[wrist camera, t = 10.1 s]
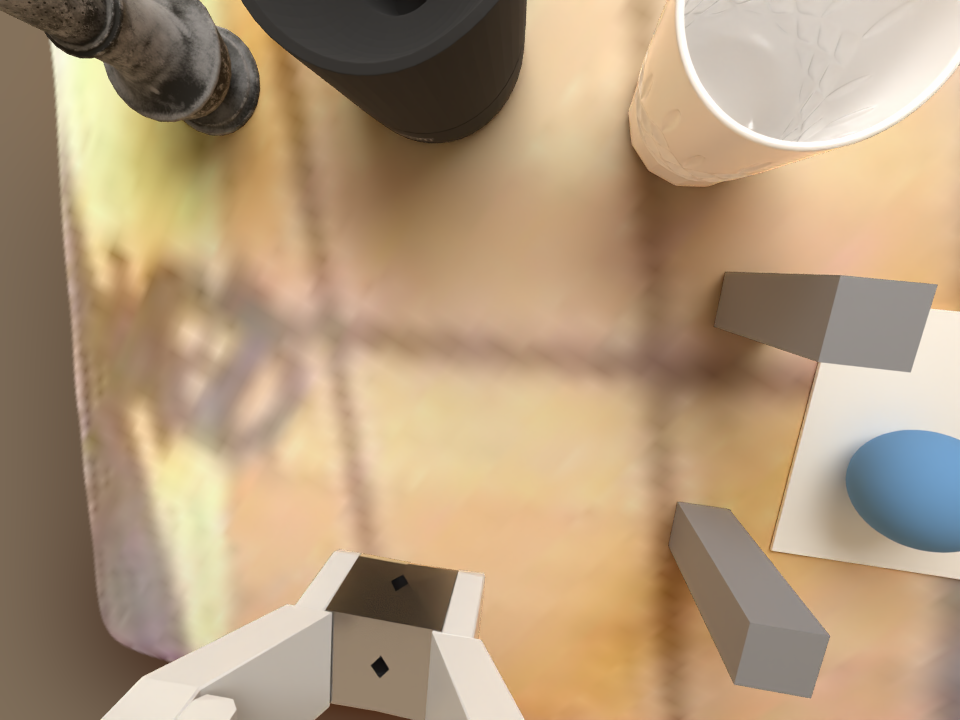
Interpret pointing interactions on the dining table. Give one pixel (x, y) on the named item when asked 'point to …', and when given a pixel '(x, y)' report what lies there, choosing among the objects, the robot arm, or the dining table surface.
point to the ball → (909, 488)
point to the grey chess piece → (156, 56)
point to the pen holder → (407, 57)
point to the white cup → (782, 80)
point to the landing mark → (850, 424)
